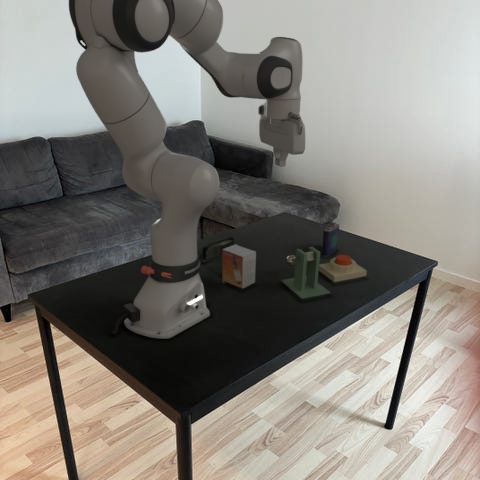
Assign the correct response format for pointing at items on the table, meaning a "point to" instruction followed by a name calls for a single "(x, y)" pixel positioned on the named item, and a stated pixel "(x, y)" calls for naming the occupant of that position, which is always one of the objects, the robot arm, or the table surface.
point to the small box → (238, 266)
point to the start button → (343, 260)
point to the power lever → (291, 259)
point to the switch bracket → (303, 283)
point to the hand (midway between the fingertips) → (280, 165)
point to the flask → (330, 239)
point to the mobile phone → (216, 247)
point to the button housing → (342, 270)
